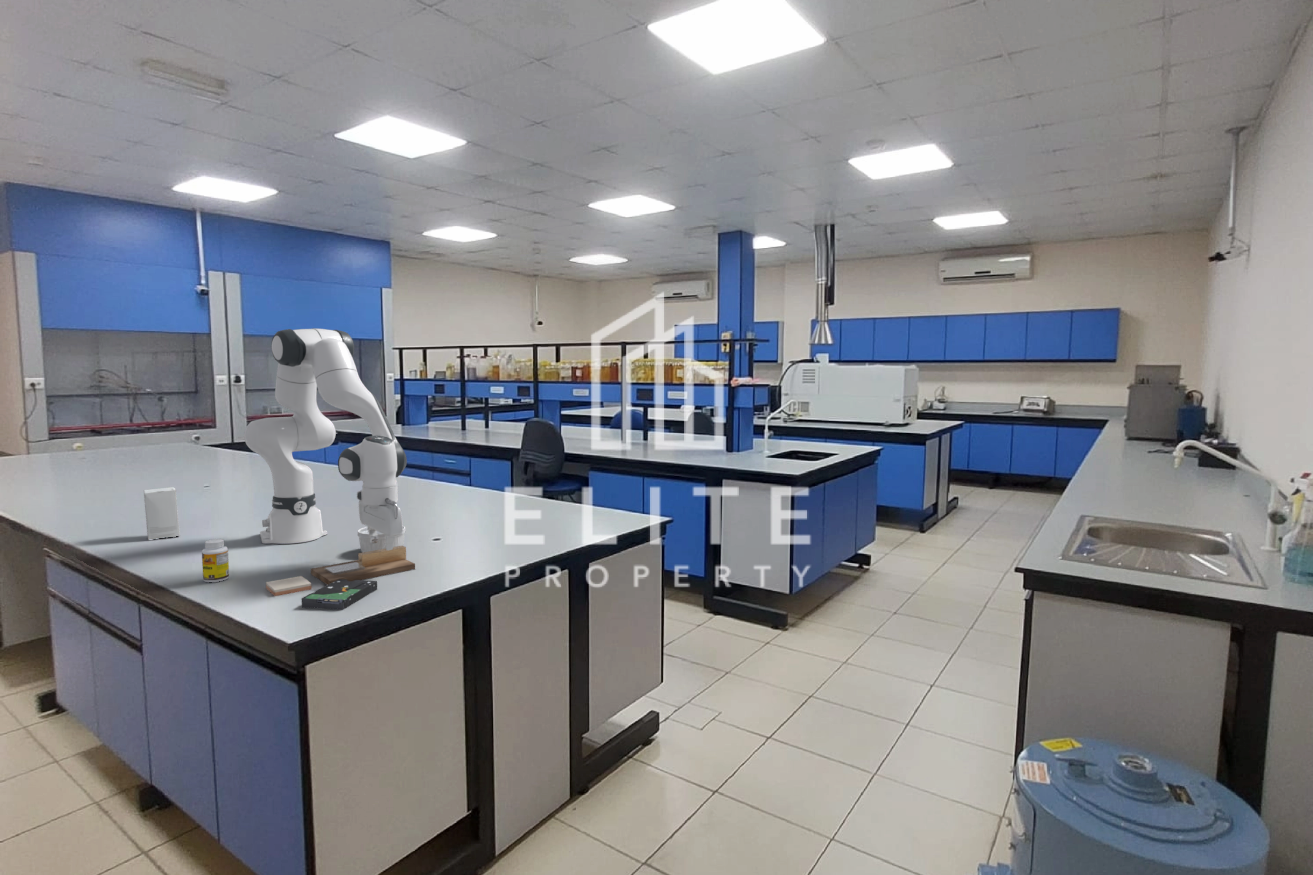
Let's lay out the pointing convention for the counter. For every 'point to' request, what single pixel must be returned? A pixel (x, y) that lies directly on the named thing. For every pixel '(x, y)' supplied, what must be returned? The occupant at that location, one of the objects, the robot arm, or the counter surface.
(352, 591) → the disk drive
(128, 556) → the counter surface
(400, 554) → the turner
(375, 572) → the board
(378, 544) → the ramekin
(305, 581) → the tile
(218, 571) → the supplement bottle
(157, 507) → the skincare box
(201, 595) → the counter surface
